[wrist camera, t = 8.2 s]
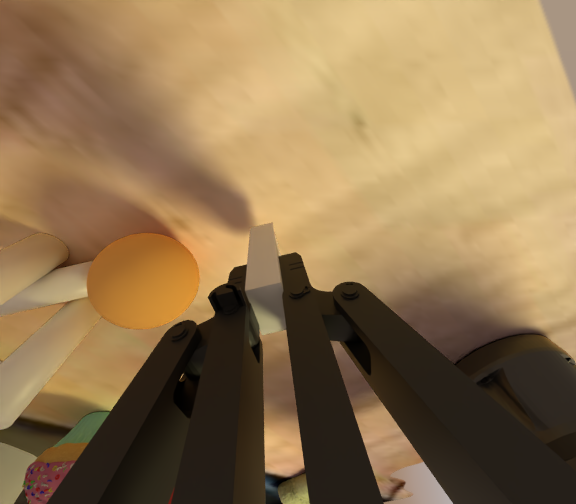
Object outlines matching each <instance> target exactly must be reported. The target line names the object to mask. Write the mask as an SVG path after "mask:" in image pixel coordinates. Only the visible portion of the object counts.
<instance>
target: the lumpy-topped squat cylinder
mask: <svg viewBox="0 0 576 504" xmlns="http://www.w3.org/2000/svg"><path fill="white" fill-rule="evenodd" d="M36 459H37V457H36V456H34V455H32V454H30V453H28V452H25V451H23V450H20V449H18V448H15V447H13V446H10V445H7V444H4V443H1V442H0V504H14V502H15V501H16V499H17V498H18V496H19V495H20V493H21V492H22V490H23V488H24V487H22V485H23V483H24V479H25V473H26V470H27V468H28V467H29V465H30V464H32V463H33V462H34V461H35V460H36ZM23 486H24V485H23Z"/></svg>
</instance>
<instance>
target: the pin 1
mask: <svg viewBox="0 0 576 504" xmlns="http://www.w3.org/2000/svg"><path fill="white" fill-rule="evenodd" d="M68 256H69V252H68V249H67V247H66V246H65V244H64V243H63V242H62V241H60V240H59V239H57V238H56V237H54V236H51V235H48V234H43V233H37V234H33V235H31V236H29V237H27V238H25V239H23V240H21V241H19V242H16V243H14V244H12V245H10V246H8V247H6V248H4V249H2V250H0V306H1V305H2V304H4V303H5V302H6V301H8V300H9V299H11V298H12V297H14V296H15V295H17V294H18V293H20V292H21V291H22V290H24V289H25V288H27V287H28V286H30V285H31V284H33V283H34V282H35V281H37V280H38V279H40V278H41V277H43V276H44V275H46V274H47V273H48V272H50V271H51V270H53V269H54V268H56V267H57V266H59V265H60V264H61V263H63V262H64V261H66V260H67V259H68Z"/></svg>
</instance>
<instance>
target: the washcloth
mask: <svg viewBox="0 0 576 504" xmlns="http://www.w3.org/2000/svg"><path fill="white" fill-rule="evenodd" d="M278 493H279V496H280V499H281V501H282V503H283V504H310V503H309V496H308V488H307V481H306V473H304V474H301V475H299V476H297V477H293V478H292V479H289V480H287V481H285V482H282V483H281V484H280V485H279V487H278Z"/></svg>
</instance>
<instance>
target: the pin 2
mask: <svg viewBox="0 0 576 504" xmlns="http://www.w3.org/2000/svg"><path fill="white" fill-rule="evenodd" d="M101 317H102V316H101V315H100V314H99V313H98V312H97V311H96V310H95V308H94V307H93V305H92V304H91V302H90V300H89V297H84V298H79V299H75V300H71V301H69V302H68V303H67V304H66V305H65V306H63V307H62V308H61V309H60V310H59V311H58V312H57V313H56V314H55V315H54V316H52V317H51V318H50V319H49V320H48V321H47V322H46V323H45V324H44V325H43V326H42V327H40V328H39V329H38V330H37V331H36V332H35V333H34V334H33V335H32V336H31V337H29V338H28V339H27V340H26V341H25V342H24V343H23V344H22V345H21V346H20V347H19V348H17V349H16V350H15V351H14V352H13V353H12V354H11V355H10V356H9V357H8V358H6V359H5V360H4V361H3V362H2V363H1V364H0V430H1V429H5V428H8V427H10V426H11V425H12V424H13V423H14V421H15V420H16V419H17V418H18V417H19V415H20V414H21V413H22V412H23V411H24V409H25V408H26V407H27V406H28V405H29V403H30V402H31V401H32V400H33V399H34V397H35V396H36V395H37V394H38V393H39V391H40V390H41V389H42V388H43V387H44V385H45V384H46V383H47V382H48V381H49V379H50V378H51V377H52V376H53V375H54V373H55V372H56V371H57V370H58V369H59V367H60V366H61V365H62V364H63V363H64V361H65V360H66V359H67V358H68V357H69V355H70V354H71V353H72V352H73V351H74V349H75V348H76V347H77V346H78V345H79V343H80V342H81V341H82V340H83V339H84V337H85V336H86V335H87V334H88V333H89V331H90V330H91V329H92V328H93V327H94V325H95V324H96V323H97V322H98V321H99V319H100V318H101Z"/></svg>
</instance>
